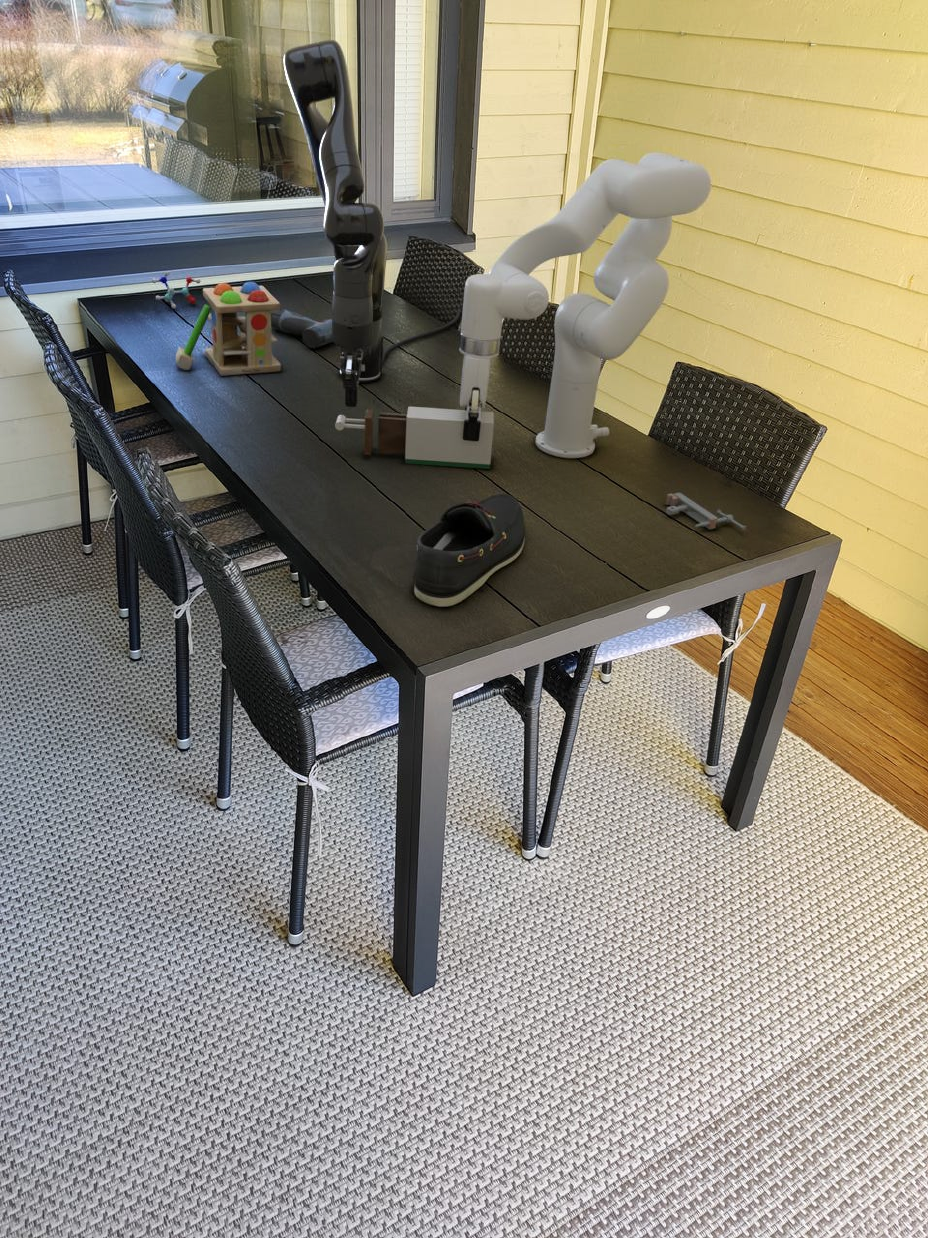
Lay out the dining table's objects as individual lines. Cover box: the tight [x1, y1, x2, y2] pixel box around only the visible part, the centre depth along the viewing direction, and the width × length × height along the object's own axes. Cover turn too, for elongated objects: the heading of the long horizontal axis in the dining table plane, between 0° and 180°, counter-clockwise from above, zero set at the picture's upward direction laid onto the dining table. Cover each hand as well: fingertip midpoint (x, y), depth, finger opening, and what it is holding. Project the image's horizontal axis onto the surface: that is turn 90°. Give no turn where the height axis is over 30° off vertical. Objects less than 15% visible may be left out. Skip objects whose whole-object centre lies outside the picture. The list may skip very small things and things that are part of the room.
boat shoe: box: [412, 493, 526, 608], centre depth 163 cm, size 13×33×10 cm, turn 147°
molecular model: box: [151, 270, 201, 310], centre depth 262 cm, size 12×10×10 cm
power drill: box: [271, 308, 334, 349], centre depth 252 cm, size 5×19×20 cm
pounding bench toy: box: [174, 281, 282, 377], centre depth 225 cm, size 23×14×18 cm, turn 116°
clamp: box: [665, 492, 747, 532], centre depth 184 cm, size 15×2×10 cm
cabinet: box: [404, 406, 495, 470], centre depth 195 cm, size 17×6×10 cm, turn 89°
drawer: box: [334, 408, 407, 456], centre depth 194 cm, size 22×4×8 cm, turn 89°
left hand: (351, 405), depth 191 cm, fingers closed
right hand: (470, 432), depth 194 cm, fingers closed on cabinet, 5 cm apart
